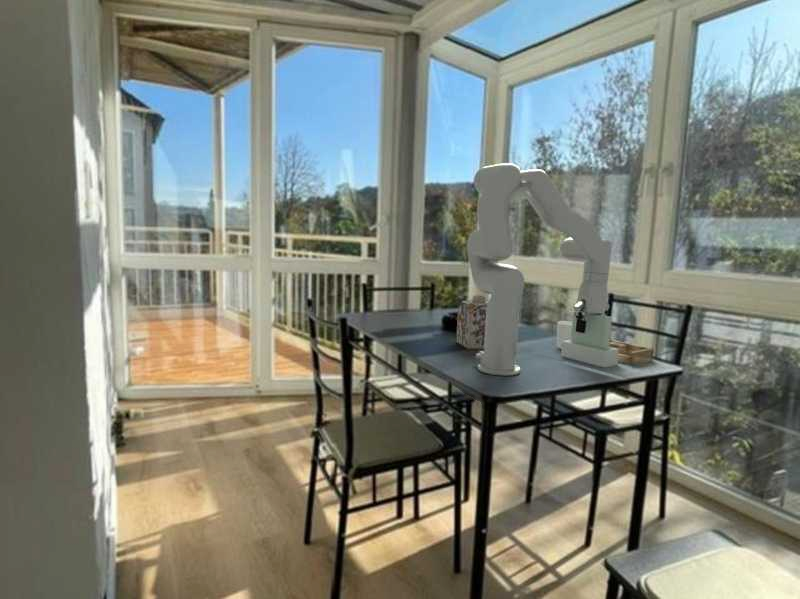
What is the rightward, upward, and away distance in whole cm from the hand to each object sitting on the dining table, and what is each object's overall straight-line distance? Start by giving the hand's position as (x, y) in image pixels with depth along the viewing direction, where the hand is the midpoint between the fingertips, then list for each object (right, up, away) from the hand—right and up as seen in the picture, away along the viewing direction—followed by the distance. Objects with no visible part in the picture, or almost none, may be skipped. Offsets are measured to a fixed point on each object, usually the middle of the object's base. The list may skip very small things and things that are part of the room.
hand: (589, 331), depth 171 cm
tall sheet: (0, -9, +1) cm, 9 cm away
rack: (+12, -10, +8) cm, 17 cm away
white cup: (-1, -8, +19) cm, 21 cm away
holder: (0, -10, +2) cm, 10 cm away
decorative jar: (-33, -7, +22) cm, 40 cm away
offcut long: (+11, -9, +8) cm, 16 cm away
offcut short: (+11, -7, +7) cm, 15 cm away
